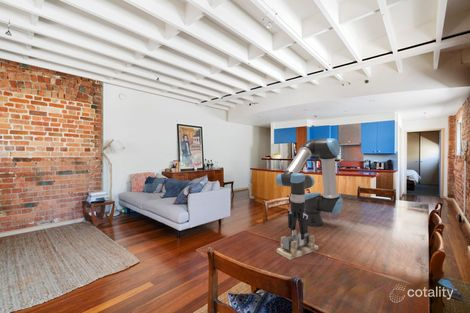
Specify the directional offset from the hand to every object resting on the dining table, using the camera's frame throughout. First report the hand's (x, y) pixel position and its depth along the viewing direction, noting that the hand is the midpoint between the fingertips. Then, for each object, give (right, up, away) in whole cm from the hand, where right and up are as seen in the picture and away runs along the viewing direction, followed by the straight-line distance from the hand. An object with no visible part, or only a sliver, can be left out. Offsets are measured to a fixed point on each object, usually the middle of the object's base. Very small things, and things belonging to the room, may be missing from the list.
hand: (297, 243), depth 124 cm
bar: (0, -1, 0) cm, 1 cm away
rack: (0, -4, 0) cm, 4 cm away
